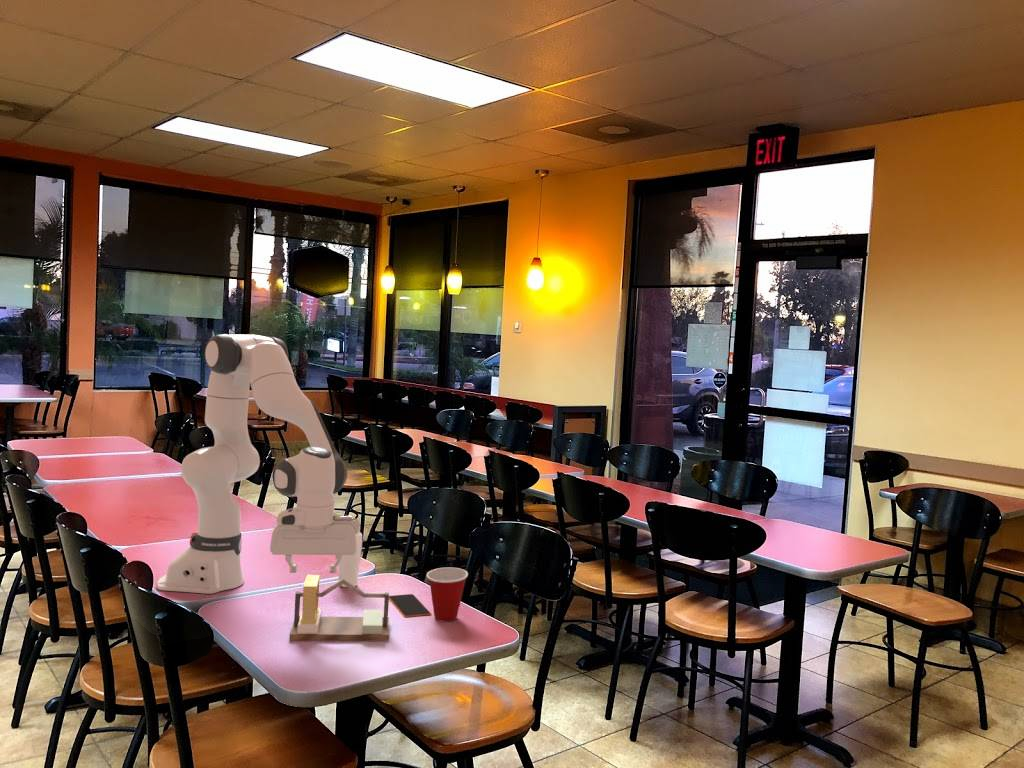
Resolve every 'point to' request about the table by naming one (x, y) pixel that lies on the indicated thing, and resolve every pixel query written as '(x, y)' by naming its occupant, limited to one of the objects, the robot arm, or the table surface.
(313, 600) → the yellow upright block
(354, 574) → the white cylinder
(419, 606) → the smartphone
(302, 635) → the buzz wire
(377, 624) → the end block
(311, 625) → the block
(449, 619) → the plastic cup
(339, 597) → the table surface
